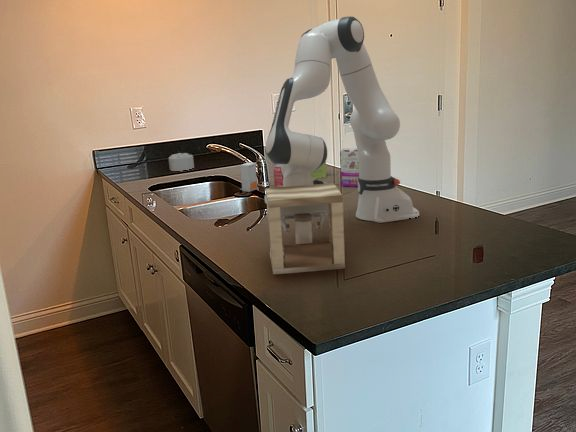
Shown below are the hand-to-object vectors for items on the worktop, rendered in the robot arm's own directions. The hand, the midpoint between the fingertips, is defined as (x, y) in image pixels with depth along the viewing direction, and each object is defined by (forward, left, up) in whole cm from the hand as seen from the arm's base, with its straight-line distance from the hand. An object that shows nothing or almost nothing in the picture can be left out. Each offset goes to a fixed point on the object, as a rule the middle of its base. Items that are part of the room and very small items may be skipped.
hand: (303, 230), depth 170 cm
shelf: (0, +1, -9) cm, 9 cm away
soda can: (0, -81, -9) cm, 81 cm away
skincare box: (+14, -95, -9) cm, 96 cm away
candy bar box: (-32, -88, -9) cm, 94 cm away
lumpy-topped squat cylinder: (+50, -157, -9) cm, 165 cm away
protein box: (-14, -112, -9) cm, 113 cm away
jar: (0, -1, -7) cm, 7 cm away
